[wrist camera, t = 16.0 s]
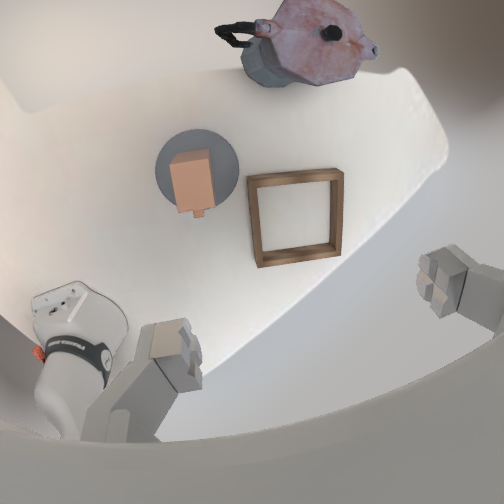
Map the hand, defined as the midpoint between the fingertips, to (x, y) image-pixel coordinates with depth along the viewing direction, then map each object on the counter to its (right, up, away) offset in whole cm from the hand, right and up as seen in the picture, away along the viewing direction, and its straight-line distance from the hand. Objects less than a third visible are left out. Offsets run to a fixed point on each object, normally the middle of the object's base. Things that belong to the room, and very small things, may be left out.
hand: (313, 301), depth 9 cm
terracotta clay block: (-10, +13, +31) cm, 35 cm away
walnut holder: (+5, +8, +37) cm, 38 cm away
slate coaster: (-10, +13, +32) cm, 36 cm away
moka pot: (+1, +28, +25) cm, 38 cm away
